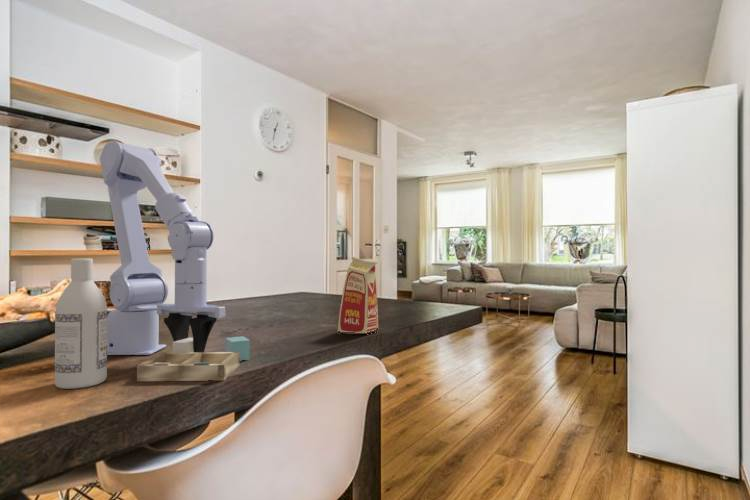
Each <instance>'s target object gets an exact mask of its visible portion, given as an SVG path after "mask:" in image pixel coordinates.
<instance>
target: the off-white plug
mask: <svg viewBox="0 0 750 500" xmlns="http://www.w3.org/2000/svg"><path fill="white" fill-rule="evenodd" d="M172 352H194V350H193V337H188V338H186V339H182V340H178V341H172Z"/></svg>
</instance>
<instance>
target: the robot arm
mask: <svg viewBox="0 0 750 500" xmlns="http://www.w3.org/2000/svg"><path fill="white" fill-rule="evenodd" d="M99 163H100V168H101V173H102V179H103V183H104V184H105V185H107V191H108V196H109V203H110V207H111V213H112V219H113V224H114V230H115V235H116V241H117V247H118V254H119V258H120V263H121V265H120V266H119V267H118V268H117V269H116V270H115V271H114V272H113V273H111V275H110V276H109V280H110V289H109V299H110V301H111V304H112V305H113V306H114V307H115V308H116V309H112V310H111V311H109V313H107V356H131V355H133V356H141V355H142V356H143V355H146V356H148V355H153V354H154V353H155V352H156V353H157V352H158V351H160V350H162V349H165V348H166V347H167V344H163V343H162V344H159V339H160V337H159V335H160V333H159V331H160V330H159V328H160V327H159V325H160V324H159V323H160V321H159V319H160V318H159V317H160V316H159V315H162V316H163V315H168V317H164V318H163V323H164V324H165V325H166V327H167V329H168V331H169V333H170V334H171V338H172V340H173V341H172V342H174V341H178V340H182V339H186V338H189V330H190V329H191V334H192V338H193V350H194V352H206V346H207V342H208V340H209V335H210V334H211V331H212V329H213V327H214V325H215V324H216V322H217V320H218V319H221V318H224V317H226V306H221V305H220V306H219V305H214V304H213V305H212V304H207V281H208V280H207V276H208V275H207V272H208V270H207V269H208V268H207V266H208V264H207V263H208V261H207V260H208V259H207V258H208V257H207V256H208V253H207V252H208V250H209V249H210V248H211V247H212V245H213V242H214V232H213V228H212V226H211V224H210V223H209V222H207V221H202V220H201V218H198V217H197V215H196V213H195V212H194V210H192V208H191V207H190V205H189V204H188V202H187V198H186V196H185V195H182V194H180V193H179V192H173V189H172V187H171V186H170V184H169V182H168V180H167V178H166V177H165V174H164V173H163V171H162V168H161V167H162V158H161V157H160V156H159V154H158V152H157V151H156V150H155V149H153V148H145V147H141V146H137V145H132V144H127V143H123V142H119V141H117V140H113V139H112V140H110V141H107V142H106V143H105V145H104V146H103V148H102V151H101V154H100V157H99ZM146 188H147V190H148V191H149V193H150V194H152V196H153V197H154V198H155V200H156V202H155V205H154V208H155V211H156V212H157V214H158V215H159V217H160V219H161V220H162V222H163V223H164V225H165V226H166V228H167V230H168V231H169V234H168V235H167V242H168V245H169V247H170V248H171V257H172V259H173V260H174V303H165V302H166V301H167V298H168V295H169V286H168V284H167V282H166V280H165V278H164V276H163V273H162V269H161V268H160V267H158V266H157V265H155V264H154V263H152V262H151V261H150V257H149V256H150V255H149V252H148V247H147V242H146V237H145V231H144V226H143V221H142V215H141V211H140V205H139V204H140V203H139V199H138V192H139V191H141V190H144V189H146Z"/></svg>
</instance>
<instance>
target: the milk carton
mask: <svg viewBox="0 0 750 500" xmlns="http://www.w3.org/2000/svg"><path fill="white" fill-rule="evenodd" d="M377 264H378V262H376V261H370V260H369V261H368V260H364V259H362V258H358V257H355V256H351V263H350V264H349V265H348V268H347V271H346V275H345V281H344V284H343V285H344V286H343V290H342V296H341V299H340V301H341V302H340V307H339V315H338V323H337V324H338V325H337V332H338V331H340V332H355V333H367V332H370V331H374V330H376V329H377V328H378V329H379V309H378V295H377V294H378V289H377V280H376V278H377V277H376V265H377Z"/></svg>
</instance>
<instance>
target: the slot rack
mask: <svg viewBox="0 0 750 500" xmlns="http://www.w3.org/2000/svg"><path fill="white" fill-rule="evenodd" d="M239 367H240V361H239V352H226V351H214V352H213V351H212V352H211V351H204V352H173V351H171V352H161V353H159V354H157V355H155V356H154V357H151V358H150V359H148V360H145V361H144V362H141V363H139V364H138V365H137V366H136V382H194V381H196V382H197V381H201V382H203V381H205V382H206V381H208V380H213V381H226V380H227V378H229V376H230V375H232V373H233V372H235V371H236V370H237V368H239ZM208 382H209V381H208Z"/></svg>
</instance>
